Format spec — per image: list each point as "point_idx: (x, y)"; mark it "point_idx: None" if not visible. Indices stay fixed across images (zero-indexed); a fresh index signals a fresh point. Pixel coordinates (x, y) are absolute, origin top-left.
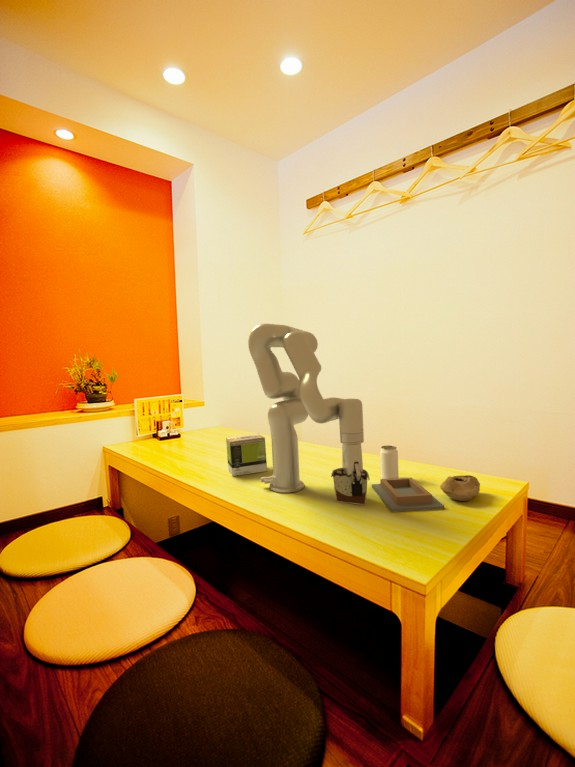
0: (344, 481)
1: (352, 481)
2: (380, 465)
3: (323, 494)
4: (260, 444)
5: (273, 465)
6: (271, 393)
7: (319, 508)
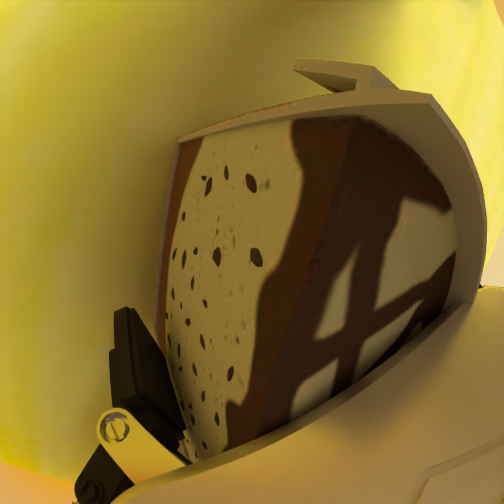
0: (212, 303)
1: (130, 429)
2: None
3: (307, 45)
4: None
5: None
6: None
7: (38, 50)
